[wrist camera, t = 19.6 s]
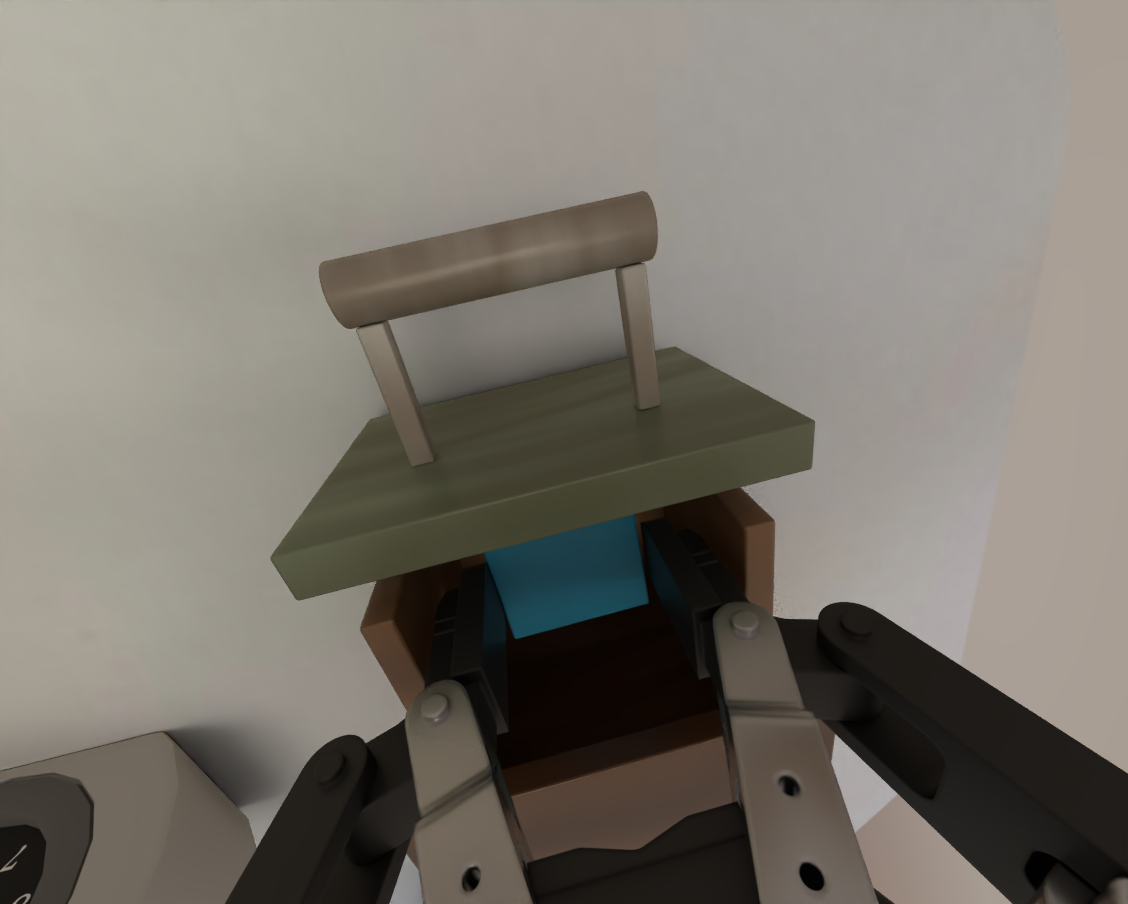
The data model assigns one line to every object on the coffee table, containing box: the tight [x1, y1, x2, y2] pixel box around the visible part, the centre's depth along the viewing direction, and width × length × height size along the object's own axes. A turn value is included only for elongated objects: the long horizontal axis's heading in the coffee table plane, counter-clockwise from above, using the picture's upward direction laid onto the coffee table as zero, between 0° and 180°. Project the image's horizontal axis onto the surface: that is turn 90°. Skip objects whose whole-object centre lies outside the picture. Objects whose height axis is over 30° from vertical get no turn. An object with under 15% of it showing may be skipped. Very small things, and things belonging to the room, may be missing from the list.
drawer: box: [271, 191, 815, 769], centre depth 14 cm, size 18×11×8 cm, turn 11°
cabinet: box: [406, 708, 835, 868], centre depth 19 cm, size 15×13×10 cm
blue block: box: [483, 514, 649, 639], centre depth 15 cm, size 4×4×4 cm
